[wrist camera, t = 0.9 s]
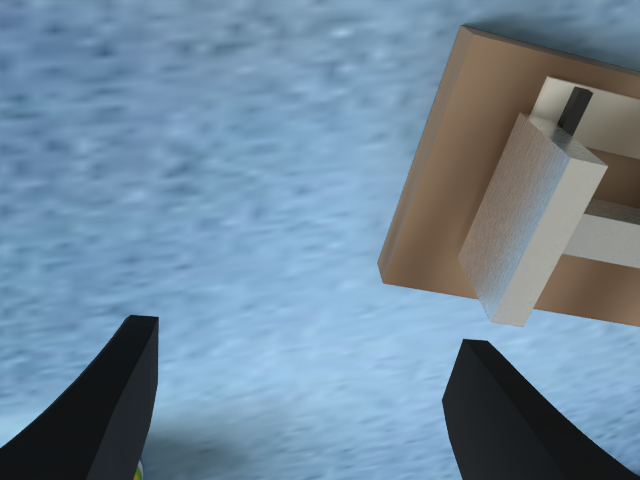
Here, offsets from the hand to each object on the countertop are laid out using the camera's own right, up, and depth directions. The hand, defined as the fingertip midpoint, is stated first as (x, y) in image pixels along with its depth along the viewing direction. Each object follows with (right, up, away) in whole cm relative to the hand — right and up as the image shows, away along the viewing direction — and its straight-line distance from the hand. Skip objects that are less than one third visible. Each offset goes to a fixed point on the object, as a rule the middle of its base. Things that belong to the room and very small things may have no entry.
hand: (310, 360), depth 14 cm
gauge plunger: (+11, +4, +8) cm, 15 cm away
